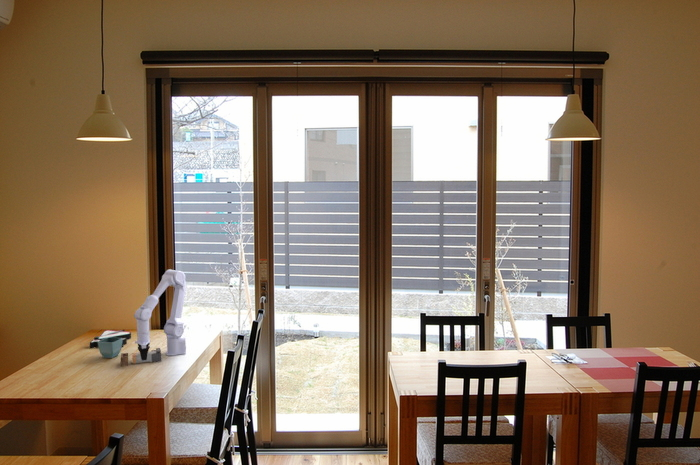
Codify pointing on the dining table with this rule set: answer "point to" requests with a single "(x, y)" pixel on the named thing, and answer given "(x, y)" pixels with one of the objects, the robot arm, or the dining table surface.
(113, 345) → the flower pot
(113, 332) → the decorative sign
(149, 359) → the tube
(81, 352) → the dining table surface
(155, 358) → the sleeve
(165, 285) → the robot arm
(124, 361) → the socket
